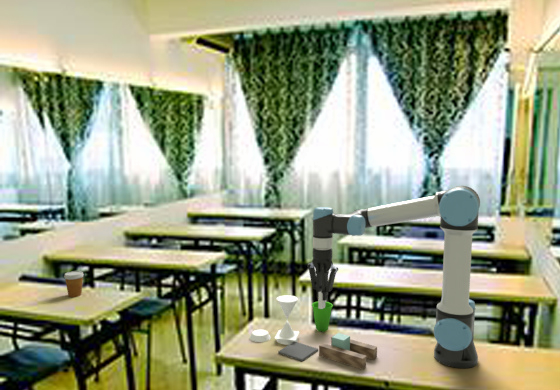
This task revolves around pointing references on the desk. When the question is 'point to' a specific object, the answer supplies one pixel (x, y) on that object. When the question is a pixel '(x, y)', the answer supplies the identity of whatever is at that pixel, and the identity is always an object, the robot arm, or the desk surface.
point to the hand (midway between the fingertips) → (321, 307)
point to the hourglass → (286, 333)
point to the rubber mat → (298, 351)
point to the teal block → (341, 341)
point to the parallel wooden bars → (349, 353)
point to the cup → (322, 316)
